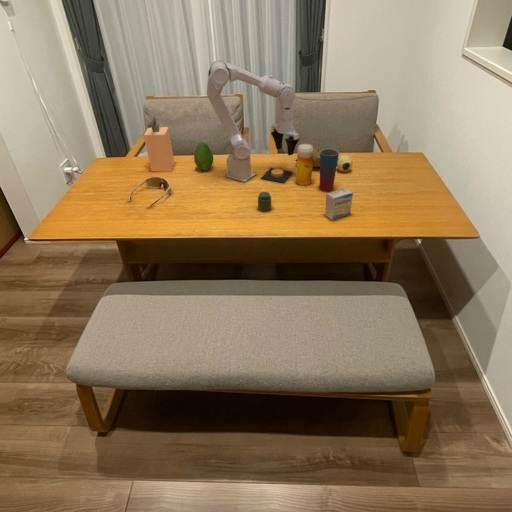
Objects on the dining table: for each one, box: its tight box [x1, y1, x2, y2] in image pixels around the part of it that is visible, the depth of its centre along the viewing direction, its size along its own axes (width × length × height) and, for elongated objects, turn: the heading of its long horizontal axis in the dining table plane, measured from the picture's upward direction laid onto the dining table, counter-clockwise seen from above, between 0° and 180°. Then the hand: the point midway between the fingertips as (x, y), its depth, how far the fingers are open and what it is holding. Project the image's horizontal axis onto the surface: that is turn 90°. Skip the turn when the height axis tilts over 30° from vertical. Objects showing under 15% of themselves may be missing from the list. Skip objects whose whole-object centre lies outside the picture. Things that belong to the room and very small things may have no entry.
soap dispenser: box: [143, 115, 175, 173], centre depth 161 cm, size 13×9×22 cm
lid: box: [271, 168, 284, 177], centre depth 159 cm, size 5×5×1 cm
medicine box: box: [324, 188, 354, 221], centre depth 133 cm, size 8×4×9 cm, turn 118°
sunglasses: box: [128, 175, 172, 208], centre depth 149 cm, size 14×15×5 cm
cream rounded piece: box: [336, 154, 354, 172], centre depth 160 cm, size 6×7×7 cm
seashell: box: [295, 148, 322, 168], centre depth 163 cm, size 11×14×10 cm
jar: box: [257, 191, 272, 213], centre depth 138 cm, size 5×5×6 cm
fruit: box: [193, 142, 214, 171], centre depth 163 cm, size 8×8×12 cm
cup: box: [319, 147, 340, 193], centre depth 146 cm, size 7×7×15 cm
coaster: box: [260, 167, 294, 184], centre depth 160 cm, size 10×10×1 cm
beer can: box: [295, 143, 315, 186], centre depth 150 cm, size 6×6×15 cm
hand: (284, 151), depth 156 cm, fingers open, 7 cm apart
